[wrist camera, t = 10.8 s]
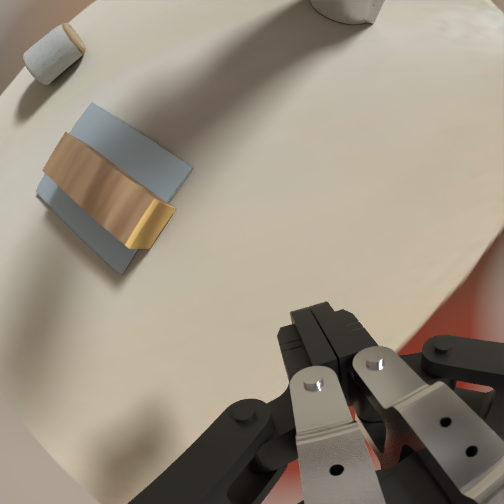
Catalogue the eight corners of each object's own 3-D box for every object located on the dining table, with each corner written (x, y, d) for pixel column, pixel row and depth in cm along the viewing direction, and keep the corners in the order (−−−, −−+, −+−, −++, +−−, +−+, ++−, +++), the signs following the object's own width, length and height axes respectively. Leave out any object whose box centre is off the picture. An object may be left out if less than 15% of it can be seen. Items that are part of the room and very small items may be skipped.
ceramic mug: (93, 57, 31) (68, 30, 23) (52, 92, 31) (22, 71, 23) (78, 29, 31) (57, 6, 23) (42, 61, 31) (18, 41, 24)
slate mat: (193, 168, 30) (192, 167, 29) (122, 274, 31) (120, 274, 30) (93, 103, 31) (91, 102, 30) (38, 191, 31) (35, 191, 30)
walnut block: (159, 202, 25) (65, 131, 25) (129, 248, 25) (42, 170, 25) (175, 209, 30) (88, 144, 30) (149, 248, 30) (67, 178, 30)
